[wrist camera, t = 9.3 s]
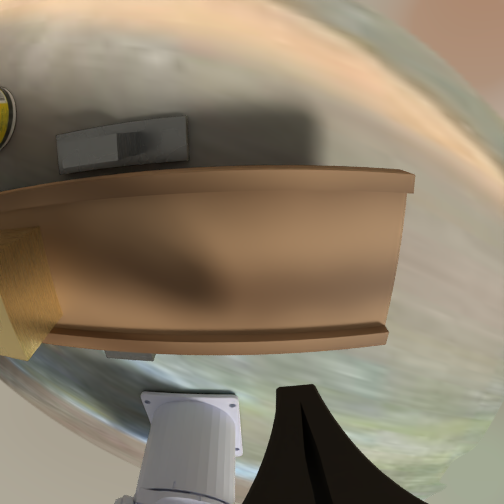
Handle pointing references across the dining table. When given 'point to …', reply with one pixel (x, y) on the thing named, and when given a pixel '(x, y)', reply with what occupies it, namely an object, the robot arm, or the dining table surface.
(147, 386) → the dining table surface
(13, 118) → the supplement bottle
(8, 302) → the block
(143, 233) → the beam
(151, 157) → the stand
